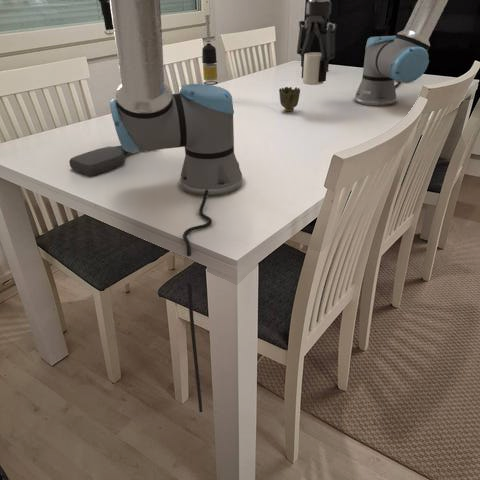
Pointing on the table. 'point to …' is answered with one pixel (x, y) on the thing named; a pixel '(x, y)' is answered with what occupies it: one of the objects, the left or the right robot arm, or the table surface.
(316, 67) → the canister
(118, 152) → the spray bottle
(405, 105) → the table surface
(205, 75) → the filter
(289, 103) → the cup
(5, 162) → the table surface
